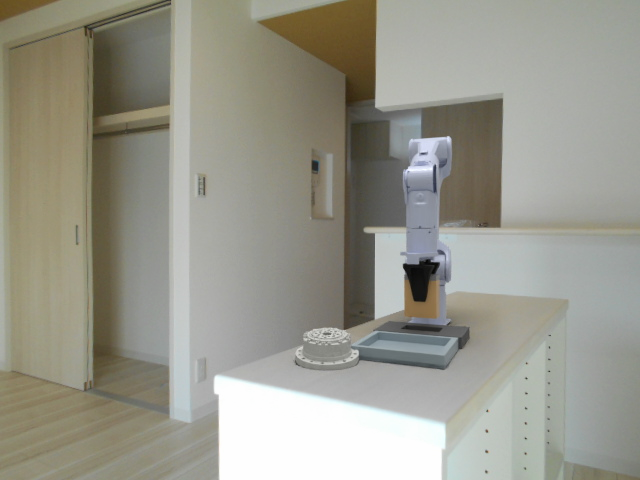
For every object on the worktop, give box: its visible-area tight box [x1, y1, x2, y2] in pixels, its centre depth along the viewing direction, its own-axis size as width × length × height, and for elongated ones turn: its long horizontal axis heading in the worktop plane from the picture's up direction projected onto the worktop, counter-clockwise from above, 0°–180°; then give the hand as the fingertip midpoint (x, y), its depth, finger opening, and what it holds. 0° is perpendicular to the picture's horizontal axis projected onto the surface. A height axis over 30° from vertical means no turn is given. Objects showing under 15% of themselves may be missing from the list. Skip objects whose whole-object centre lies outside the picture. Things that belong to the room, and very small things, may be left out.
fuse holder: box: [372, 320, 471, 350], centre depth 87 cm, size 10×16×2 cm, turn 65°
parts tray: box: [351, 331, 459, 370], centre depth 76 cm, size 13×15×2 cm
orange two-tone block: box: [403, 273, 440, 319], centre depth 87 cm, size 3×6×8 cm, turn 65°
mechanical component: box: [294, 327, 360, 371], centre depth 72 cm, size 10×4×10 cm
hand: (421, 300), depth 87 cm, fingers closed on orange two-tone block, 3 cm apart
